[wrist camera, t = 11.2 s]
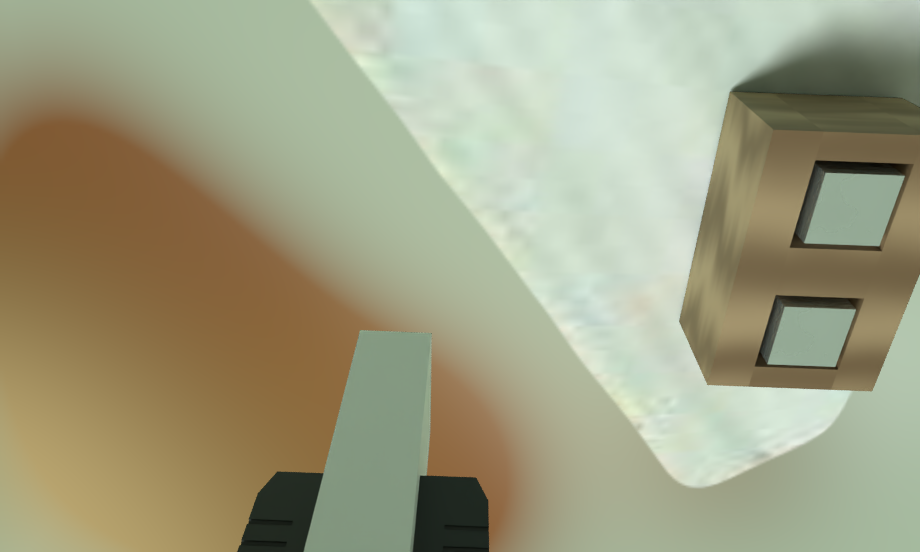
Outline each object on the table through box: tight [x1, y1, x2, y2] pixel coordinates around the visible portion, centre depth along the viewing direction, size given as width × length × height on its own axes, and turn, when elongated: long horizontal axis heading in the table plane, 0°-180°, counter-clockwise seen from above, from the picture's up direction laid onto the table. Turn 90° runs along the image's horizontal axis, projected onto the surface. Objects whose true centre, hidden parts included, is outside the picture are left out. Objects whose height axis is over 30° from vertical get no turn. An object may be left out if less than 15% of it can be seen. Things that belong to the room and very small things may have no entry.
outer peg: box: [759, 295, 856, 367], centre depth 44 cm, size 4×4×6 cm
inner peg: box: [794, 160, 905, 246], centre depth 40 cm, size 4×4×6 cm
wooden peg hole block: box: [679, 92, 920, 391], centre depth 42 cm, size 16×10×7 cm, turn 178°
